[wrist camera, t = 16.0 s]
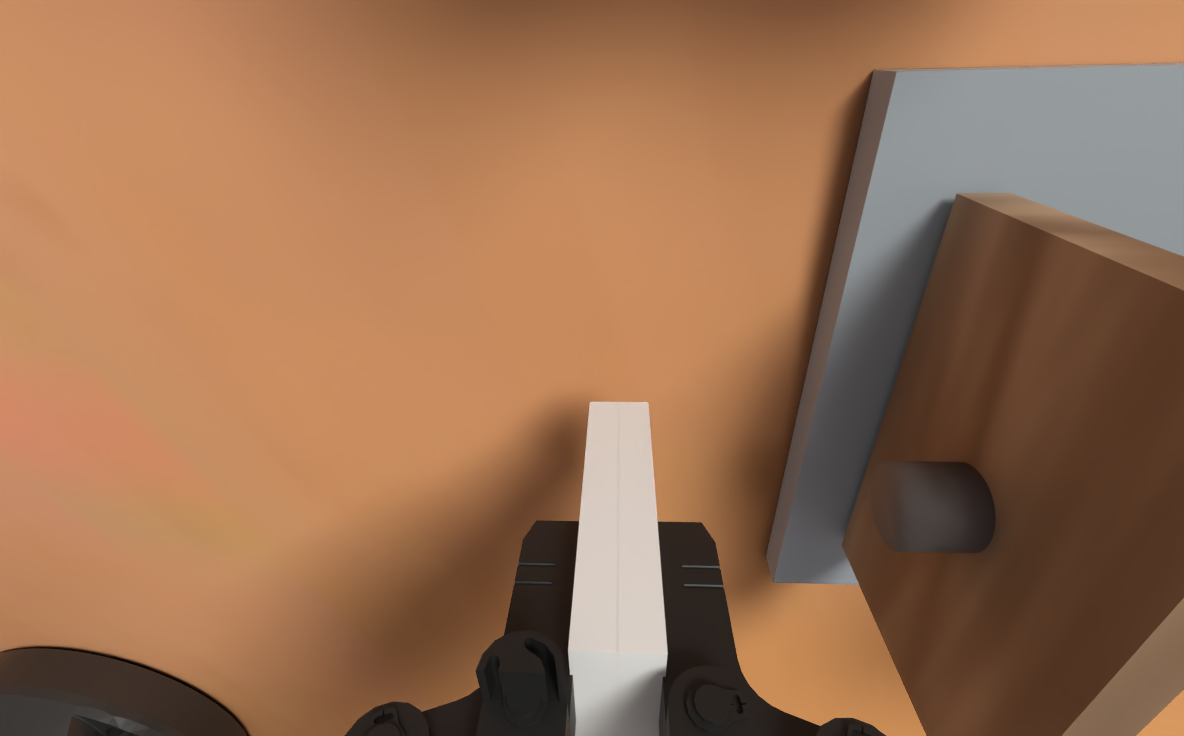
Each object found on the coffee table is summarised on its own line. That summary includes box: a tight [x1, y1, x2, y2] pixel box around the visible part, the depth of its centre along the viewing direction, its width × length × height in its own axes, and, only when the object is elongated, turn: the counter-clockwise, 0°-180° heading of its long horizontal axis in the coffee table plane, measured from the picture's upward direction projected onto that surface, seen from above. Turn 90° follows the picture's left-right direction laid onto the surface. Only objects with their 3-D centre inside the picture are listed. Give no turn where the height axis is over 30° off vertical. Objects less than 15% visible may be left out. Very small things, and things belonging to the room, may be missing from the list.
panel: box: [842, 193, 1184, 736], centre depth 12 cm, size 3×12×8 cm, turn 1°
